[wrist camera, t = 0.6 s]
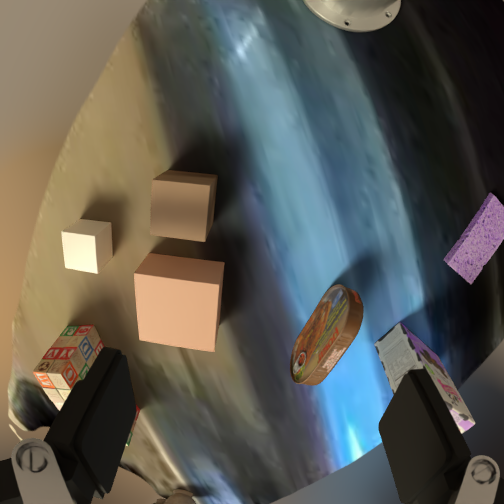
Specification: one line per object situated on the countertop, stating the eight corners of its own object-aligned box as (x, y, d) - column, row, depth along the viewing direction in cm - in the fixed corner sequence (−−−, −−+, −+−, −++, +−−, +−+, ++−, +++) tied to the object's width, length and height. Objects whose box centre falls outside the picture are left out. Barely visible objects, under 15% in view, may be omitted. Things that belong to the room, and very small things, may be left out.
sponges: (441, 258, 40) (447, 263, 39) (488, 190, 36) (495, 193, 34) (465, 279, 42) (471, 285, 40) (509, 216, 37) (516, 220, 36)
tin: (336, 272, 41) (352, 307, 33) (356, 280, 42) (374, 316, 34) (286, 353, 47) (289, 394, 39) (304, 359, 47) (310, 399, 40)
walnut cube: (168, 169, 36) (152, 179, 31) (217, 175, 37) (210, 185, 31) (165, 217, 39) (150, 234, 33) (212, 223, 39) (204, 241, 33)
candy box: (439, 356, 47) (477, 424, 32) (414, 376, 49) (445, 447, 34) (400, 319, 44) (442, 398, 29) (371, 344, 46) (403, 427, 31)
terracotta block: (149, 252, 41) (134, 273, 35) (224, 261, 41) (219, 284, 36) (151, 314, 45) (139, 339, 39) (219, 324, 45) (214, 351, 40)
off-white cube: (80, 218, 39) (61, 231, 34) (111, 222, 39) (94, 236, 35) (82, 252, 41) (65, 267, 36) (113, 256, 41) (97, 273, 37)
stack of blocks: (141, 410, 54) (124, 459, 43) (115, 408, 55) (96, 455, 44) (93, 323, 46) (59, 374, 35) (65, 325, 47) (31, 372, 35)
